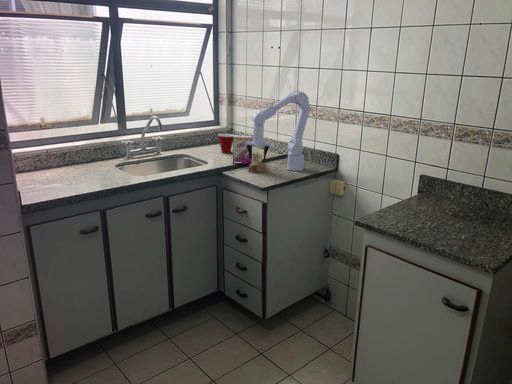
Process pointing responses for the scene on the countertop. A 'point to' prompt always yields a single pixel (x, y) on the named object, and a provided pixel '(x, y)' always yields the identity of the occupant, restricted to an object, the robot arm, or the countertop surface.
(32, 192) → the countertop surface
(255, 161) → the maple block
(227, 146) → the plastic cup
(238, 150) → the candy bar box
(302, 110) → the robot arm
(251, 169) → the walnut block
